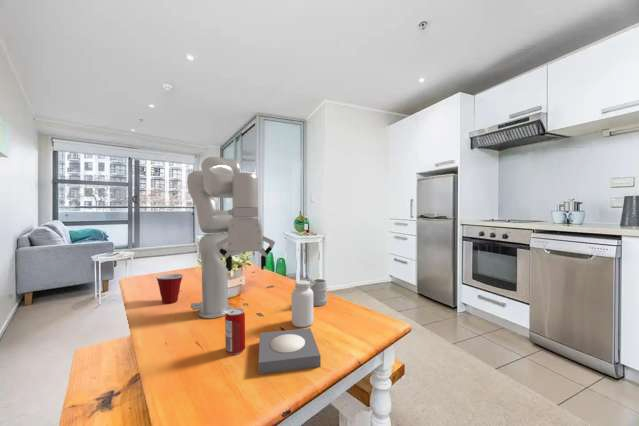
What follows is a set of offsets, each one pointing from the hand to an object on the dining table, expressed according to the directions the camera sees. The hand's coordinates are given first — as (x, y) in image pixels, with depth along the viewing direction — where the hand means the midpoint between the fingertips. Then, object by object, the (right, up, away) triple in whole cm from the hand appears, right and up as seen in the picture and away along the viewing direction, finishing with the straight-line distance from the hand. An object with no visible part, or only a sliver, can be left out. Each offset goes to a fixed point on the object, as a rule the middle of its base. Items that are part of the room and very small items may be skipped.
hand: (246, 269), depth 81 cm
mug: (+21, -23, +34) cm, 46 cm away
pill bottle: (+16, -23, +16) cm, 32 cm away
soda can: (-3, -24, -3) cm, 24 cm away
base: (+13, -23, -4) cm, 27 cm away
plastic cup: (-45, -23, +38) cm, 63 cm away
